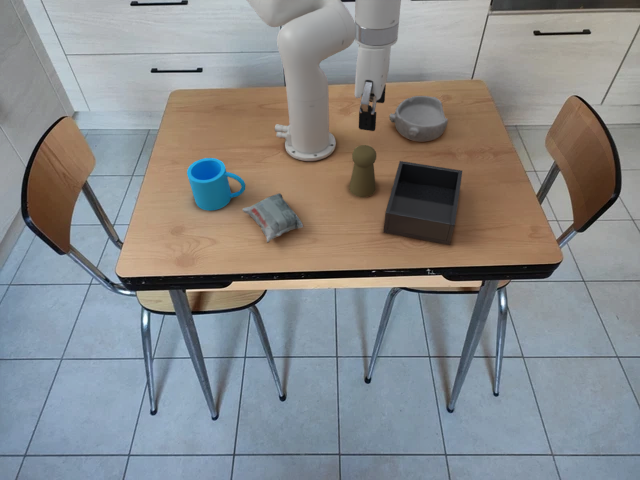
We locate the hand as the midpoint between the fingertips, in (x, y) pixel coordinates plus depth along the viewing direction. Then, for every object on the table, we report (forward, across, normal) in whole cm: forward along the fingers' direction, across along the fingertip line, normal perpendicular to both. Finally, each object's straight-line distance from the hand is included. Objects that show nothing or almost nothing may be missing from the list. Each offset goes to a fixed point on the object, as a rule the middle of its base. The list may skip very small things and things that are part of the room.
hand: (371, 115), depth 97 cm
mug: (+19, +12, -31) cm, 38 cm away
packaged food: (+19, +17, -17) cm, 31 cm away
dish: (+19, -25, +8) cm, 33 cm away
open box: (+19, +5, +13) cm, 24 cm away
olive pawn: (+19, +1, -1) cm, 19 cm away
